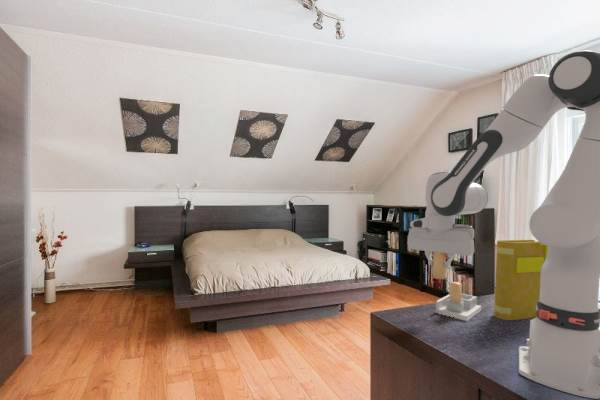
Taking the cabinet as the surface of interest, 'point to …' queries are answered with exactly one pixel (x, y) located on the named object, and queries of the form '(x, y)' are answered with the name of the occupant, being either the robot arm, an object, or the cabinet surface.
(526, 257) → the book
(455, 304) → the housing
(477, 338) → the cabinet surface
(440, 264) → the tan wooden block
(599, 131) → the robot arm
